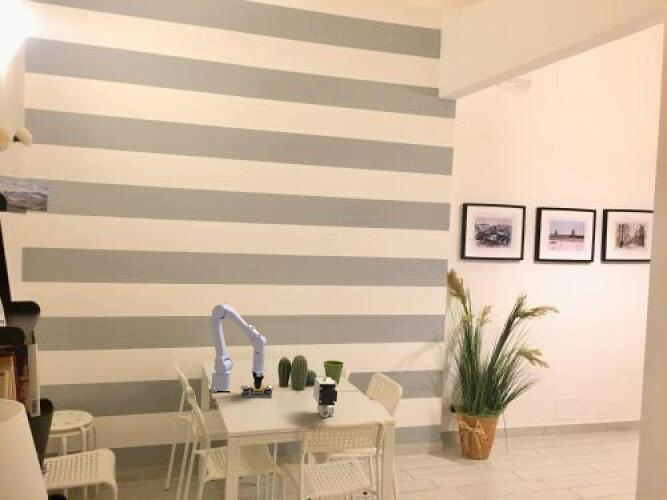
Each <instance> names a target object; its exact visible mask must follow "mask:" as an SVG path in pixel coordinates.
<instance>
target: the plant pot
mask: <svg viewBox="0 0 667 500" xmlns="http://www.w3.org/2000/svg"><path fill="white" fill-rule="evenodd" d="M322 363H323V367H324V374H325V375H324V376H326V377H330V378H331V379H332V380H335V381H336V383H338V384H339V383H340V380H341V375H342V371H343V367H344V364H345V362H343V361H339V360H323V362H322Z"/></svg>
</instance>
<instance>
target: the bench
mask: <svg viewBox="0 0 667 500" xmlns="http://www.w3.org/2000/svg"><path fill="white" fill-rule="evenodd" d="M240 390H241V391H242V398H243V399H273V396H272V395H273V391H274V385H263V387H262V392H253V387H252V385H240Z"/></svg>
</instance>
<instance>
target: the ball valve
mask: <svg viewBox="0 0 667 500" xmlns="http://www.w3.org/2000/svg"><path fill="white" fill-rule="evenodd" d="M336 385H337V384H336V381H335V380H332V379H331V378H330V377H326V375H324V376H314V384H313V398H314V400H315V402H316V403H317V407H316V408H317V409H316V410H317V411H318V415H320V417H322V418H327V417H329V416H331V415H334V413H335V408H334V406H335V403H337V402H338V390H337V387H336Z"/></svg>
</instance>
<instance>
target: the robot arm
mask: <svg viewBox="0 0 667 500" xmlns="http://www.w3.org/2000/svg"><path fill="white" fill-rule="evenodd" d="M211 312H212V313H211V316H210V321H209V323H210V327H211V328H210V329H211V333H212V334H211V335H212V339H213V343H214V349H215V358H214V371H215V372H213V373H211V375H212V376H211V384H210V388H211V393H218V392H217V391H226V390H229V389H230V390H231V387H230V386H231V373H232V372H231V370H232V368H234V367H233V366H234V362H233V361H232V359H231V356H230V354H229V353H228V352H227V347H226V340H225V336H224V330H223V324H222V322H223V321H224V320H225V319H229V320H232V321H233V322H234V323H235V324H236V325H237V326H238V327H240V329H242V334H243V335H244V336H245V337H246V338H247V339H248V340H249V341H250V343H251V345H252V348H253V355H252V368H251V374H252V378H253V382H255V388H256V389H260V387H261V383H262V384H263V379H265V375H264V374H263V373H264V372H266V371H267V369H266V368H265V358H266V357H265V355H266V345H268V339H267V337H266V336H265V335H263V334H262V333H259V332H258V331H257V329H256V327H255V326H254V325H251V324H248V323H246V321H245V320H244V319H243V318H242V316H241V315H240V314H239V313H238V312H237V310H236V308H235V307H233V306H232V305H231V304H230V303H228V302H225V303H222V304H217V305H215V306H214V307H213V309H212V310H211ZM214 387H215V389H214Z"/></svg>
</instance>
